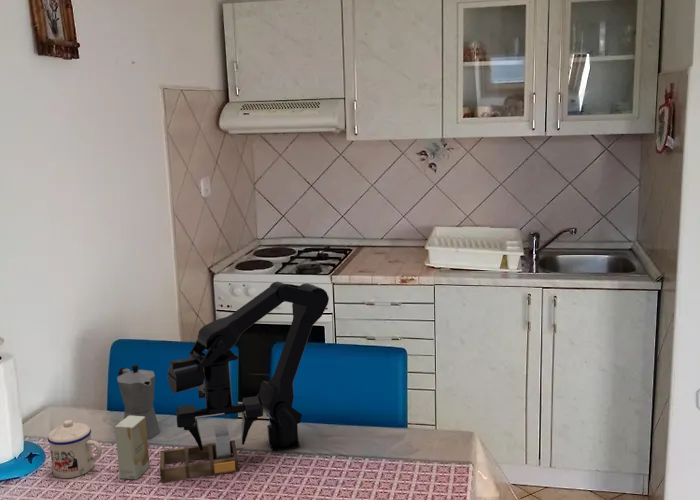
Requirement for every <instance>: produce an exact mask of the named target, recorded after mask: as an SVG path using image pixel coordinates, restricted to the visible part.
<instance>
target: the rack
mask: <svg viewBox="0 0 700 500" xmlns="http://www.w3.org/2000/svg"><path fill="white" fill-rule="evenodd" d="M202 448H203V451H201V450H200V448H199V446H198V444H197V445H191V446H185V447H177V448H176V447H175V448H171V449H170V448H169V449H163V450H160V454H159V455H160V457H159V458H160V459H159V462H160V463H159V473H160V483H161V484H163V483H170V482H174V481H175V482H176V481H181V480H188V479H195V478H202V477H209V476H213V475H214V476H215V475H221V474H227V473H228V474H229V473H234V472H239V471H240V466H239V465H240V463H239V456H238V451H237V445H236V441H235V439H234V440H230V453H231V458H226V459H219V460H216V459H214V458H216V448H215V442H212V443H206V444H204V443H203V444H202ZM202 459H208V460H207V461H199V462H193V463H192V462H191V463H190V461H195V460H202ZM182 462H184V464H179V465H173V466H168V467H167V466H166V465H167V464H168V465H169V464H175V463H182Z"/></svg>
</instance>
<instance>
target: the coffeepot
mask: <svg viewBox="0 0 700 500" xmlns="http://www.w3.org/2000/svg"><path fill="white" fill-rule="evenodd" d="M131 369H132V371H131ZM131 369H130V368H126V367H120V368H119V370H118V372H117V375H118V376H116V379H117V384H118V388H119V391H120V395H121V399H122V404H123V406H124V415H123V420H124V419H125V418H126V417H127V416H129V415H131V416H145V418H146V430H147V440H149V439H153V438H154V437H156V436H157V435H158V434H159V433H160V432H161V430H160V425H159V422H158V419H157V416H156V415H157V414H156V411H155V408H154V404H153V402H154V400H155V399H154V398H155V384H156V382H155V381H156V375H155V372H154V371H153V370H147V369H139V364H132V365H131Z"/></svg>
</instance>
